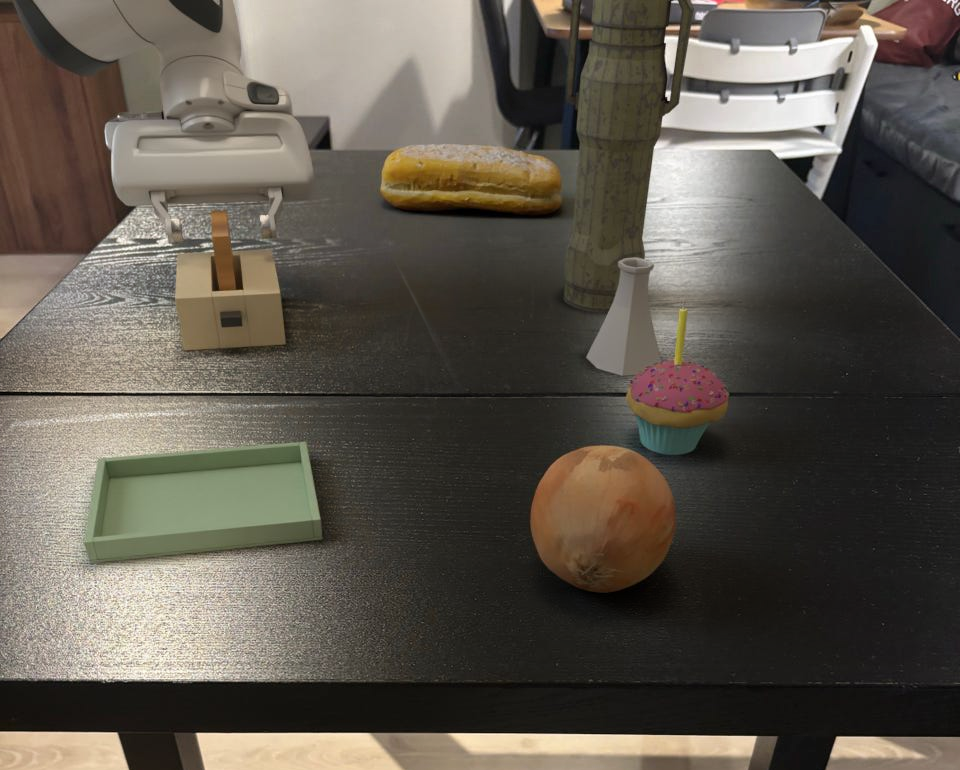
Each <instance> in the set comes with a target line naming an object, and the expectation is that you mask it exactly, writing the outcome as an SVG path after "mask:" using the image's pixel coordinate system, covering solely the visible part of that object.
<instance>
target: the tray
mask: <svg viewBox="0 0 960 770" xmlns="http://www.w3.org/2000/svg"><path fill="white" fill-rule="evenodd" d="M323 539H324V538H323V528H322V518H321V513H320V508H319V503H318V497H317V493H316V486H315V481H314V477H313V471H312V464H311V459H310V454H309V449H308V444H307V441H296V442H282V443H281V442H280V443H271V444H269V443H268V444H260V445H258V444H257V445H249V446H248V445H245V446H235V447H234V446H233V447H222V448H210V449H198V450H197V449H196V450H185V451H172V452H162V453H149V454H137V455H136V454H135V455H126V456H125V455H123V456H112V457H101V458H98V459H97V464H96V470H95V476H94V481H93V486H92V493H91V498H90V505H89V510H88V516H87V522H86V528H85V535H84V540H83V546H84V549H85V552H86V555H87V560H88V563H89V564H96V563H106V562H114V561H115V562H116V561H117V562H118V561H126V560H135V559H145V558H154V557H164V556H174V555H184V554H194V553H195V554H196V553H203V552H205V553H206V552H215V551H225V550H233V549H243V548H253V547H263V546H273V545H281V544H282V545H283V544H291V543H292V544H293V543H302V542H312V541H322V540H323Z"/></svg>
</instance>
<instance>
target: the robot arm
mask: <svg viewBox="0 0 960 770" xmlns="http://www.w3.org/2000/svg"><path fill="white" fill-rule="evenodd" d="M12 4H13V6H14V8H15V11H16V12H17V15H18V17H19V20H20V22H21V25H22V26H23V29H24V31H25V32H26V34H27V37H28V38H29V39H30V41H31V43H32V44H33V45H34V47H35V49H36V50H37V51H38V52H39V54H41V55H42V56H43V57H44V58H45V59H46V60H48V61H49V62H51V63H52V64H54V65H55V66H57V67H59V68H60V69H63V70H65V71H67V72H70V73H72V74H74V75H77V76H80V77H85V78H86V77H91V76H92V77H93V76H94V75H95V74H97V73H98V72H99V73H100V71H103V70H104V69H106V68H107V67H109V66H111V65H113V64H114V63H116V62H118V61H119V60H120V59H121V58H123V57H127V56H129V55H131V54H133V53H136V52H138V51H140V50H143V49H145V48H148V47H150V46H152V45H153V47H154V48H155V51H156V53H157V56H158V58H159V61H160V69H159V77H158V80H159V88H160V89H159V90H160V97H161V107H162V110H161V111H144V112H136V113H135V112H130V111H124V112H123V111H122V112H119V113H117V116H115V117H112V118H111V119H109V120H108V121H107V122H106V123H105V125H104V140H105V145H106V148H107V150H108V151H109V152H110V157H111V158H110V173H111V180H112V181H111V182H112V186H113V189H114V192H115V194H116V197H117V198H118V199H119V201H120V202H122V203H123V204H124V205H125V206H128V207H143V206H144V207H146V206H152V208H153V212H154V215H155V216H156V217H157V218H158V219H159V221H160V222H161V224H162V225H163V226H164V227H165V231H166V237H167V241H168V243H171V244H173V243H184V235H183V226H182V222H181V218H177V217H176V218H175V217H173V218H172V217H171V216H170V214H169V206H172V205H173V206H174V205H176V206H177V205H201V204H202V205H203V204H206V205H207V204H227V203H228V204H229V203H230V204H231V203H257V202H258V203H259V202H260V203H261V202H263V203H264V202H268V206H269V211H268V212H267V214H260V215H259V221H260V222H259V223H260V229H261V239H262V240H263V239H264V240H265V239H266V240H267V239H269V240H271V239H277V228H276V224H277V222H278V220H279V219H280V216H281V214H282V212H283V210H284V204H283V203H284V202H287V201H307V200H309V199H310V197H311V196H312V195H313V193H314V190H315V174H314V168H313V162H312V156H311V152H310V148H309V145H308V142H307V138H306V135H305V132H304V130H303V128H302V125H301V123H300V122H299V121H298V120H297V118H295V117H294V111H293V105H292V99H291V95H290V92H289V91H288V90H287V89H285V88H283V87H280V86H277V85H273V84H270V83H267V82H263V81H260V80H258V79H257V80H256V79H253V78H250V77H247V76H245V73H244V72H243V68H242V66H241V57H242V50H243V49H242V40H241V33H240V26H239V21H238V16H237V11H236V6H235V3H234V0H12Z"/></svg>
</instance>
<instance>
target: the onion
mask: <svg viewBox="0 0 960 770" xmlns="http://www.w3.org/2000/svg"><path fill="white" fill-rule="evenodd" d="M676 516H677V515H676V505H675V500H674V495H673V493H672V490H671V488H670V486H669V483H668V481H667V479H665V476H664V475H663V473H661V472H660V470H659V469H658V468H657V467H656V466H655V465H654V464H653V463H652V462H651V461H650V460H648V459H647V458H646V457H645V456H643V455H641V454H639V453H638V452H636V451H634V450H631V449H629V448H626V447H623V446H622V447H621V446H616V445H606V444H605V445H589V446H584V447H581V448H578V449H575V450H572V451H570V452H568V453H565V454H562V456H560V457H559V458H557V459H556V460H555V461H554V462H553V463H552V464H550V466H549V467H548V468H547V470H546V471H545V473H544V475H543V476H542V477H541V479H540V480H539V482H538V484H537V487H536V489H535V492H534V496H533V499H532V502H531V507H530V520H529V522H530V531H531V536H532V540H533V543H534V545H535V548H536V550H537V553H538V555H539V558H540V559H541V560H540V561H542V563H543V564H544V565H545V567H546V568H547V569H548V570H549V571H551V572H552V573H553V574H554V575H555V576H557V577H558V578H560V579H561V580H563V581H564V582H566V583H568V584H570V585H571V586H573V587H575V588H577V589H580V590H584V591H588V592H590V593H591V592H592V593H602V594H603V593H604V594H605V593H606V594H607V593H608V594H609V593H614V592H618V591H621V590H624V589H627V588H630V587H632V586H634V585H636V584H638V583H640V582H641V581H643V580H645V579H647V578H648V577H650V575H652V574H653V573H654V572H655V571H656V570H657V569H658V567H660V566H661V565H662V563H663V561H665V559H666V556H667V555H668V553H669V551H670V547H671V544H672V541H673V539H674V535H675V532H676V526H677V519H676V518H677V517H676Z"/></svg>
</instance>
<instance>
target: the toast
mask: <svg viewBox="0 0 960 770" xmlns="http://www.w3.org/2000/svg"><path fill="white" fill-rule="evenodd" d="M229 223H230V222H229V217H228V210H226V209H225V210H224V209H223V210H211V211H210V225H211V242H212V247H213V252H214V255H215V262H216V269H217V276H218V282H219V289H220V291H231V290H238V289H237V281H236V274H235V267H234V259H233V252H232V251H233V245H232V239H231V231H230V224H229Z"/></svg>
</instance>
